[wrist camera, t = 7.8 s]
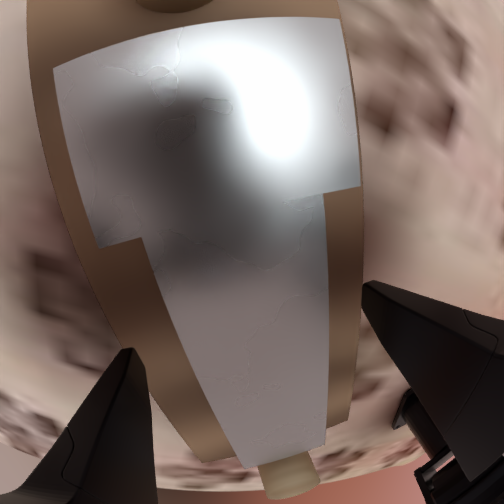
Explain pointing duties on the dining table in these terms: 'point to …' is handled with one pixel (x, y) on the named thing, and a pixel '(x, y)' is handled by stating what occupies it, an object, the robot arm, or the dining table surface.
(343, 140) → the grey stepped block
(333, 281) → the peg rack
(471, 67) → the dining table surface
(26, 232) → the dining table surface
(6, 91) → the dining table surface
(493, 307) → the dining table surface
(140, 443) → the robot arm
